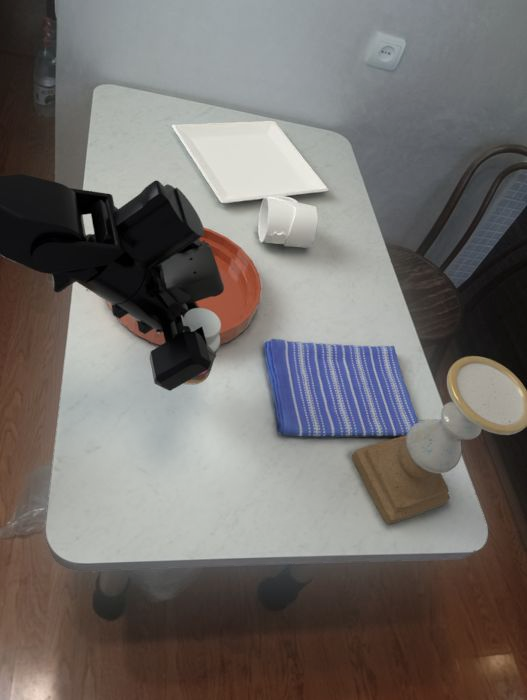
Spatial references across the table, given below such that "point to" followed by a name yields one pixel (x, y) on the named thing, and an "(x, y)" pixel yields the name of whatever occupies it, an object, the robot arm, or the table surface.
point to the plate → (248, 160)
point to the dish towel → (338, 390)
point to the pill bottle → (211, 331)
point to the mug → (287, 222)
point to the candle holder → (441, 439)
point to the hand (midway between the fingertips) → (207, 338)
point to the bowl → (233, 302)
